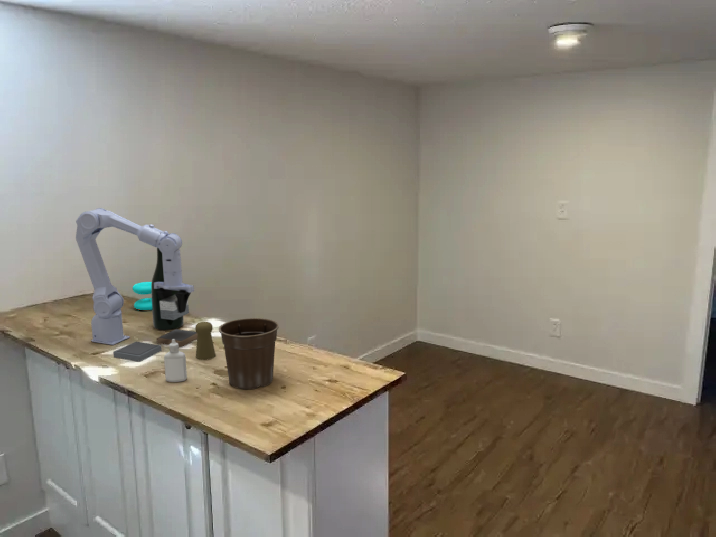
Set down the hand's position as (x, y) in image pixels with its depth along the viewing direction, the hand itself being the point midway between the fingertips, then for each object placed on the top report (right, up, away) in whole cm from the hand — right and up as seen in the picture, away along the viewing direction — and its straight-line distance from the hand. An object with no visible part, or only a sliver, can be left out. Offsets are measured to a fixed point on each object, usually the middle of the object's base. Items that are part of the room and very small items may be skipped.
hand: (175, 311), depth 188 cm
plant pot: (+31, -18, -29) cm, 46 cm away
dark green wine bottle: (-8, -7, +17) cm, 20 cm away
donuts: (-24, -2, +40) cm, 46 cm away
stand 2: (0, -10, +3) cm, 10 cm away
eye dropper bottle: (+10, -17, -29) cm, 35 cm away
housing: (0, -2, 0) cm, 2 cm away
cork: (+13, -13, -11) cm, 22 cm away
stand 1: (-9, -13, -10) cm, 18 cm away
